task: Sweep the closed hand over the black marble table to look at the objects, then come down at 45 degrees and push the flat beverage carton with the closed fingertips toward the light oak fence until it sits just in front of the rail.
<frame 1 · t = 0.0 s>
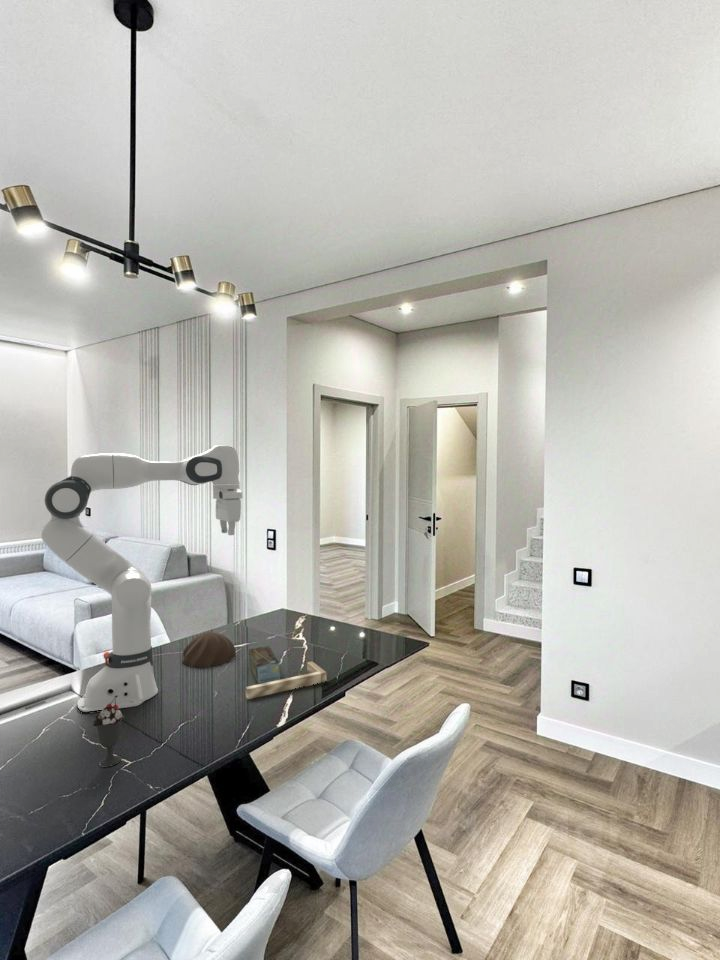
hand: (227, 534, 177), 48 cm above the table, tool pointing down, fingers open, 8 cm apart
decorative dome: (209, 659, 196), on the table
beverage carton: (264, 673, 179), on the table
sundae: (110, 762, 123), on the table
oak fence: (284, 689, 163), on the table
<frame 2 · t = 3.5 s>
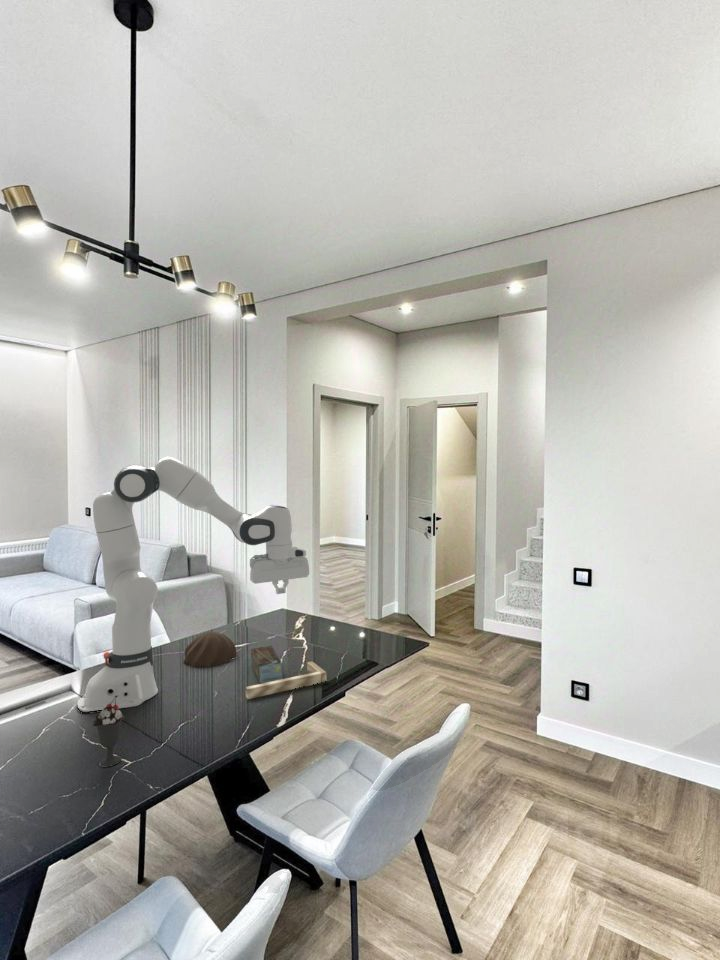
hand: (280, 593, 177), 27 cm above the table, tool pointing down, fingers closed
nothing on the table moved.
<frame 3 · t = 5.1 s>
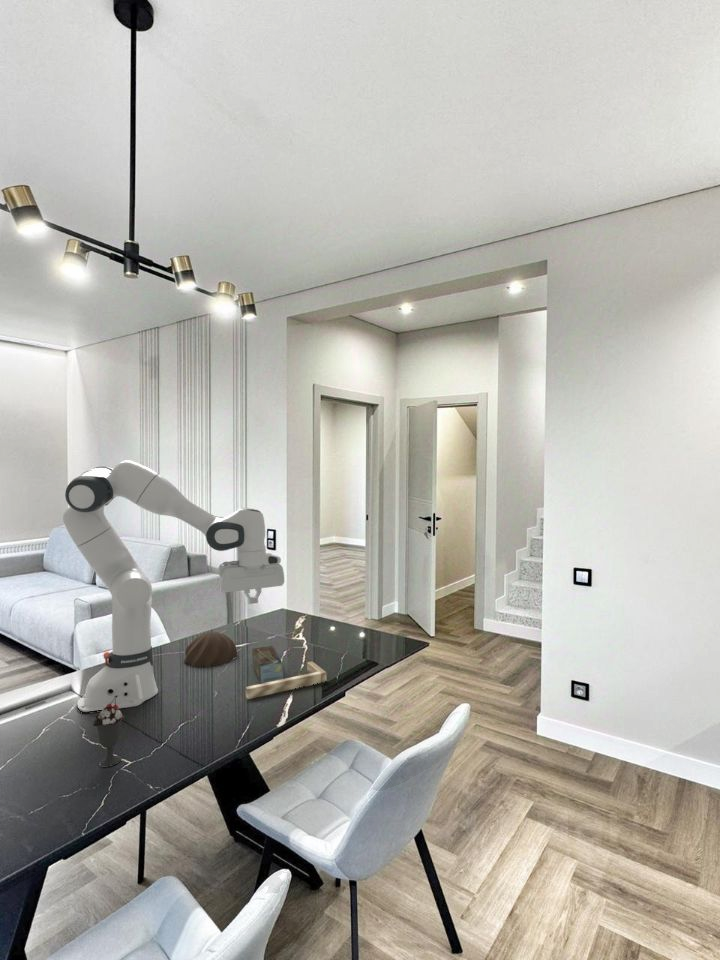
hand: (252, 603, 164), 27 cm above the table, tool pointing down, fingers closed
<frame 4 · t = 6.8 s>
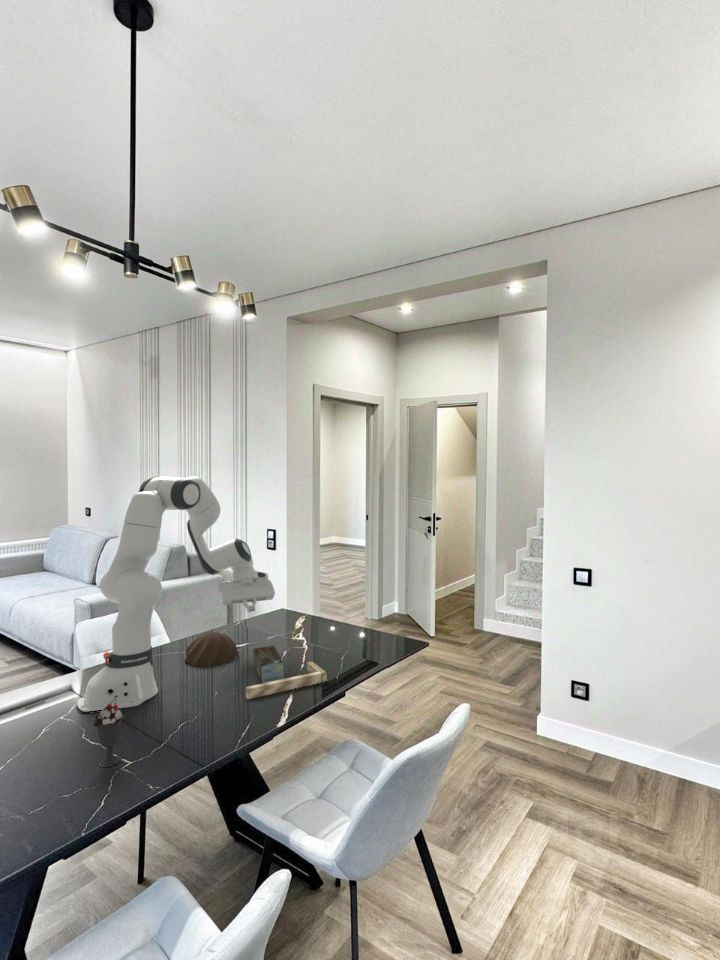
hand: (251, 610, 196), 17 cm above the table, tool tilted 45°, fingers closed
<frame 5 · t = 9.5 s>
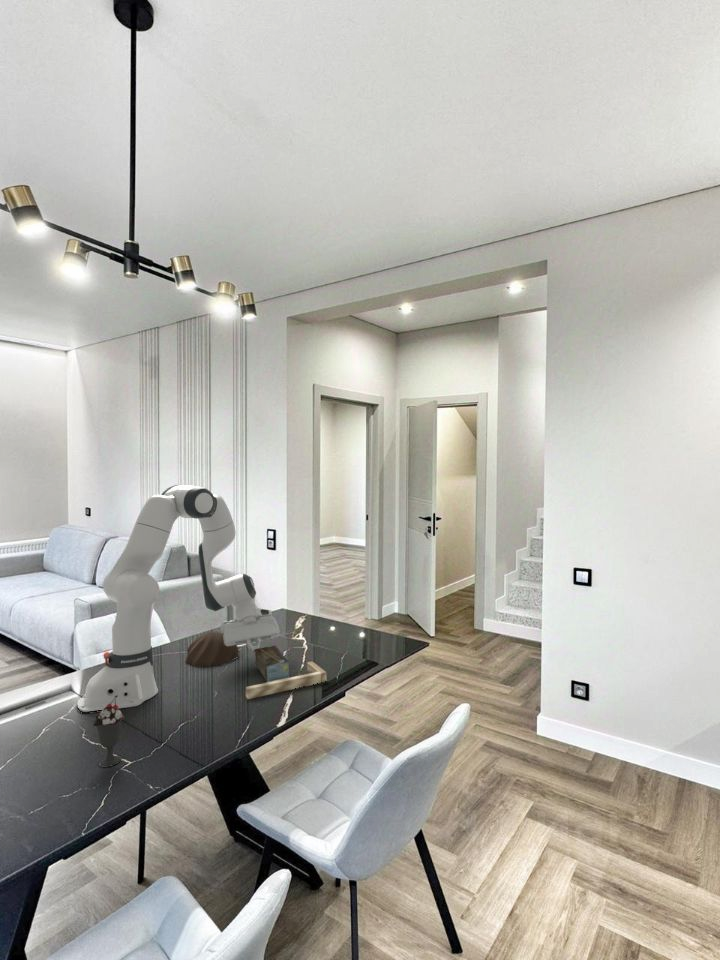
hand: (256, 651, 187), 5 cm above the table, tool tilted 45°, fingers closed
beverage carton: (272, 673, 179), on the table, touching gripper
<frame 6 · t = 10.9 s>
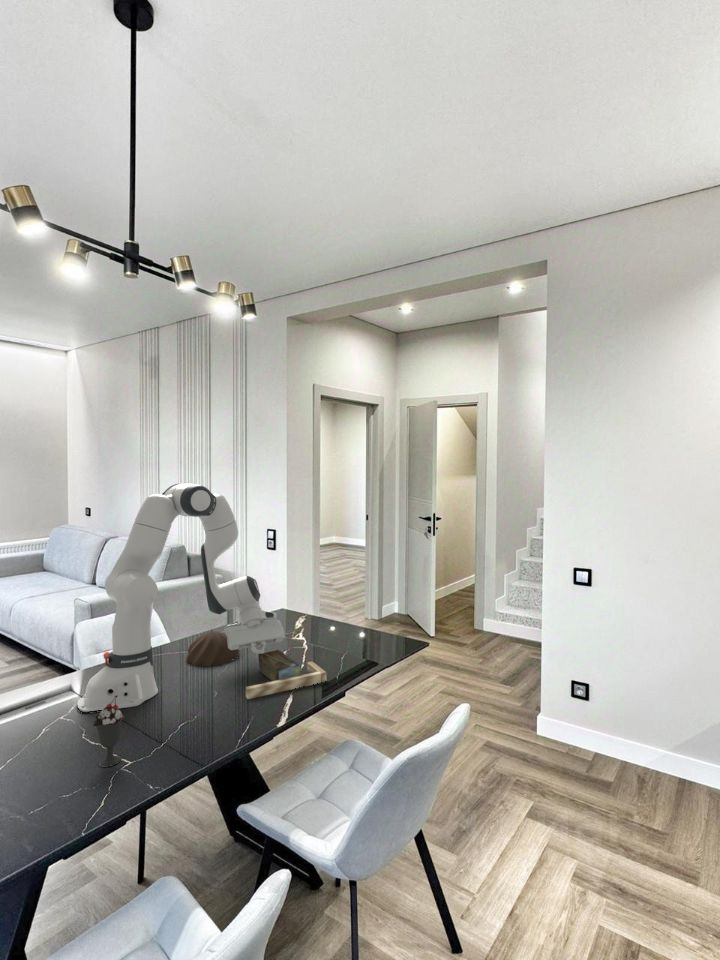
hand: (260, 655, 182), 5 cm above the table, tool tilted 45°, fingers closed
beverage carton: (279, 678, 175), on the table
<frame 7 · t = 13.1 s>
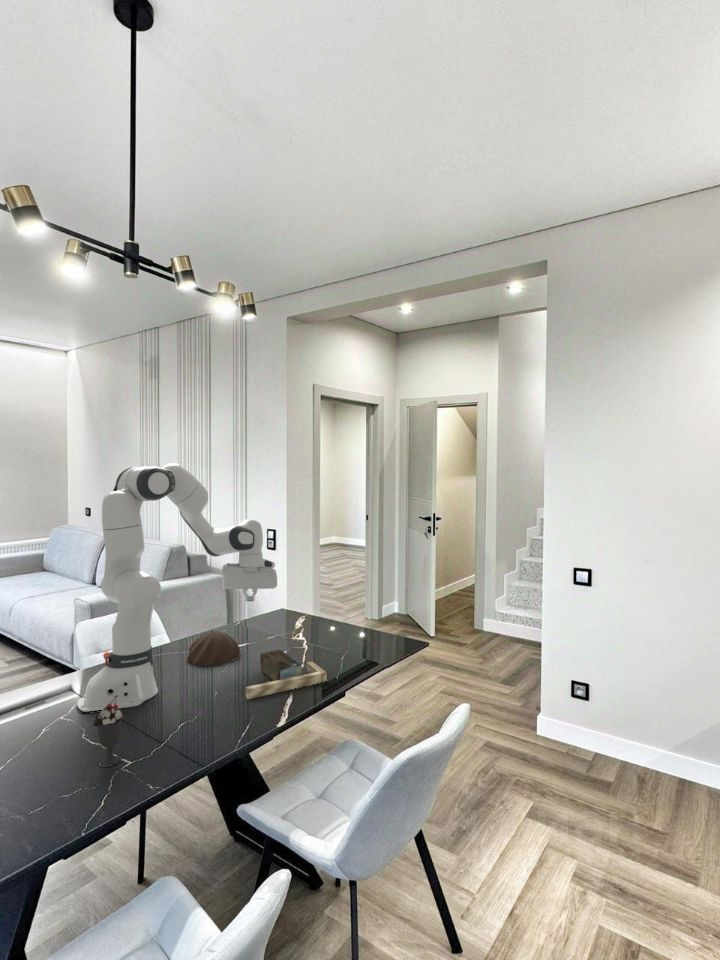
hand: (249, 601, 192), 22 cm above the table, tool tilted 15°, fingers closed
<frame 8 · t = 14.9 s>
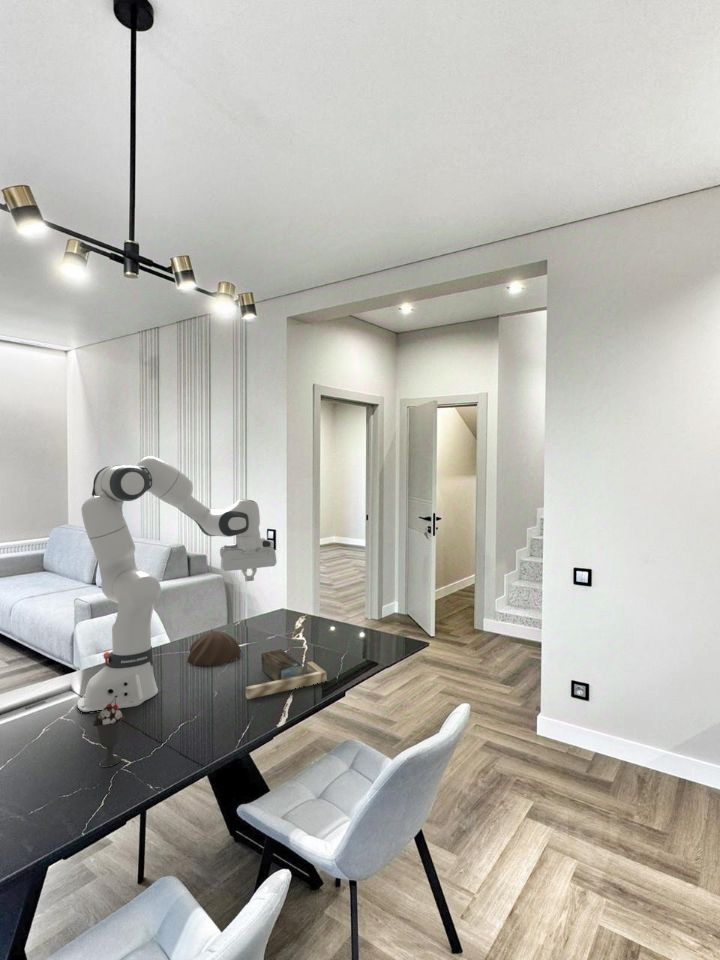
hand: (249, 580, 192), 29 cm above the table, tool pointing down, fingers closed
at the end: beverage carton inside the target area (3.7 cm from its centre), on the table; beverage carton tilted 0°; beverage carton moved 7.7 cm from its start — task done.
